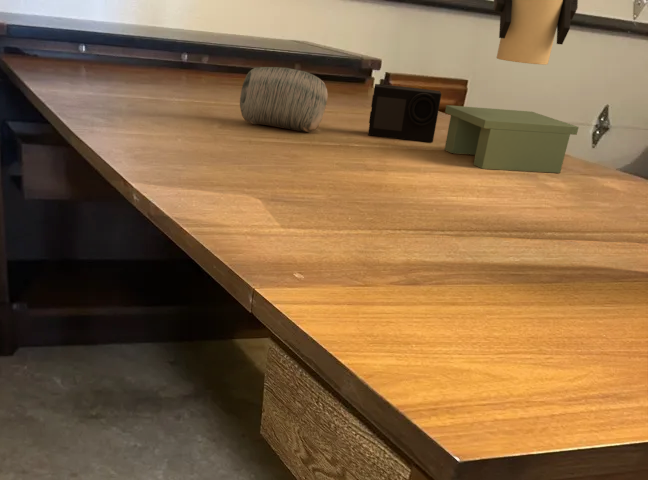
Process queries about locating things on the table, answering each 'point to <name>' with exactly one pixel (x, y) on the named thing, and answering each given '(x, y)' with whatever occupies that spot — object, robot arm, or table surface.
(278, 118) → the grey yarn skein
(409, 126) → the digital camera
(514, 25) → the tan upright cylinder
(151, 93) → the table surface
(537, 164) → the stand
